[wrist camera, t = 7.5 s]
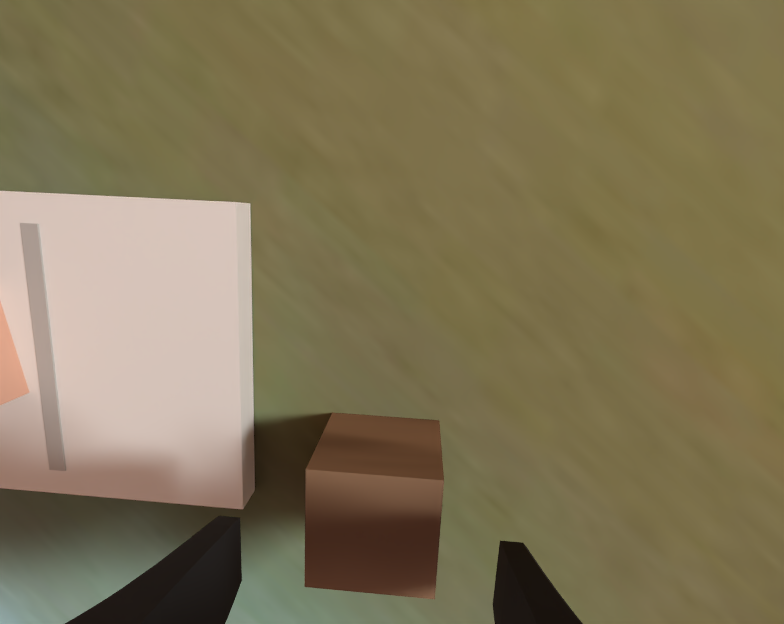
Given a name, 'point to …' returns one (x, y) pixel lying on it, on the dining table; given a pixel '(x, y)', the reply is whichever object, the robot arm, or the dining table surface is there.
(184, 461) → the baseplate
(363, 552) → the walnut block
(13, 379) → the terracotta block
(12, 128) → the dining table surface
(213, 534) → the robot arm
